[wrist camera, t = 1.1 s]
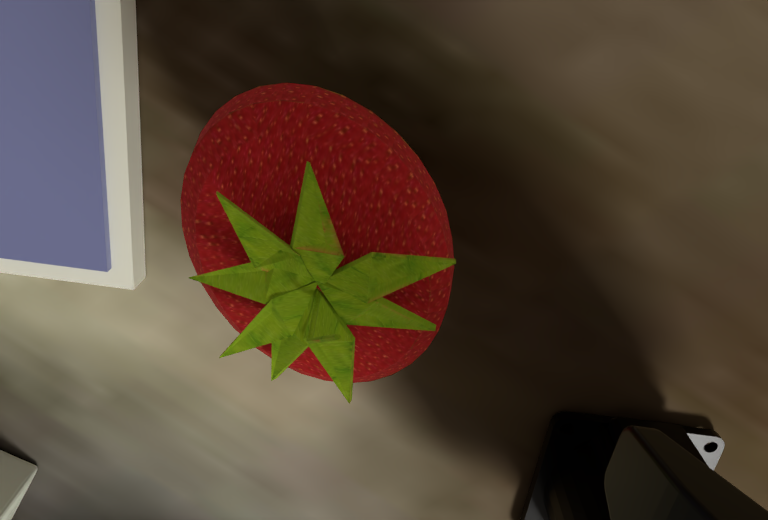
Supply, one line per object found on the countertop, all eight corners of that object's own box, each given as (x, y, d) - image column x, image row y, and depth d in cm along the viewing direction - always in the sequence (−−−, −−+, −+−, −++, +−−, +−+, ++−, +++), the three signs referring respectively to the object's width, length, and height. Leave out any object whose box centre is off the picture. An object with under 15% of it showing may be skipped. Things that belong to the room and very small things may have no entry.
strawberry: (368, 19, 17) (327, 41, 8) (476, 235, 20) (541, 440, 10) (201, 116, 18) (-1, 232, 9) (324, 307, 21) (262, 546, 12)
